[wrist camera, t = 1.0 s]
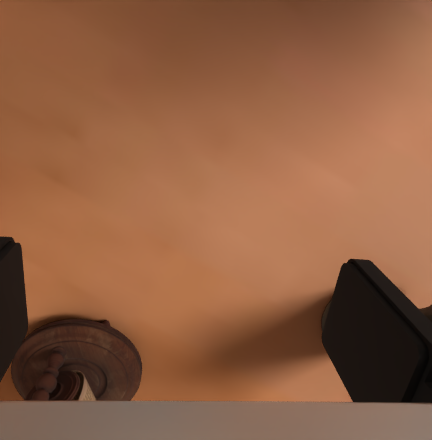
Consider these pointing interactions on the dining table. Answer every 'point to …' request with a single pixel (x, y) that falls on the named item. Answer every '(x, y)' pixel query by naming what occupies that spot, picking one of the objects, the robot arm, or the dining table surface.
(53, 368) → the brown figurine
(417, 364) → the robot arm
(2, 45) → the dining table surface
